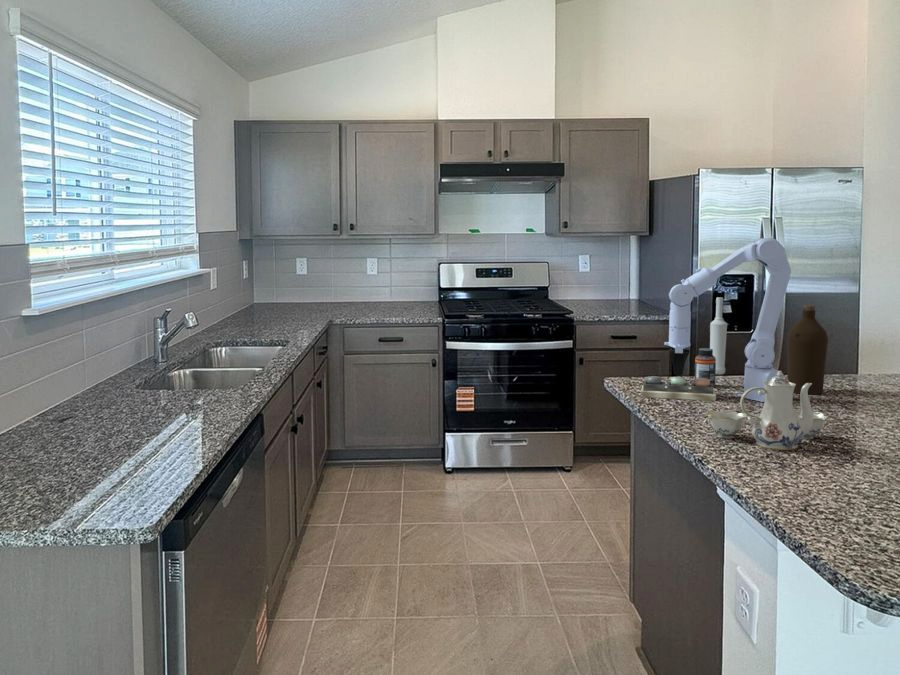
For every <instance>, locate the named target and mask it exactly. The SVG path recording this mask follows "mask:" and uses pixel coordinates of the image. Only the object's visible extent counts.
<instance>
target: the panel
mask: <svg viewBox="0 0 900 675" xmlns="http://www.w3.org/2000/svg"><path fill="white" fill-rule="evenodd" d="M689 383H690V382H685V386H679V385H671V381H667V384H666V381H662V385H657V384H647V380H643V385H642V386H641V389H640V398H651V399H652V398H653V399H673V400H676V399H677V400H689V401H690V400H695V401H712V402H713V401H714V402H716V400H717V396H716V389H715V388H714V387H713V384H710V387H701V386H695V382H691V384H690V385H689Z"/></svg>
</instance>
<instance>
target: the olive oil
mask: <svg viewBox="0 0 900 675" xmlns="http://www.w3.org/2000/svg"><path fill="white" fill-rule="evenodd" d="M801 316H802V317H801V319H800V320H799V321H798V322H797V323H796V324H795V325H793V327H791V329H790V330H789V331H788V335H787V338H786V340H787V341H786V344H787V345H786V346H787V348H786V349H787V352H786V353H787V354H786V355H787V358H786V360H787V366H786V367H787V374H786V376H787V377H786V378H787V379H788V381H789V382H791V383H795V384H796V385H795V388H794V391H793V394H797V395H800V392H801V389H802V387H803V386H804V385H805V384H806V383H812V385H811V386H810V387H809V388H808V396H810V395H811V396H813V395H821V394H824V383H825V382H824V380H825V371H826V370H825V369H826V362H827V354H828V353H827V352H828V345H829V344H828V343H829V336H828V334H827V331H826V330H825V328H824V327H823V326H822V325H821V324H820V323H819V322H818V321H817V320H816V305H815V304H804V305H802V313H801Z"/></svg>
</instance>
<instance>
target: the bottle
mask: <svg viewBox="0 0 900 675" xmlns="http://www.w3.org/2000/svg"><path fill="white" fill-rule="evenodd" d="M715 304H716V305H715V317H714V320H712V321H711V322H710V324H709V333H710V334H709V339H710V340H709V349H713V356H714V357H715V358H716V373H715V375H724V374H726V367H725V366H726V363H725V362H726V350H727V349H726V347H727V329H728V323H727V322H726V321H725V319H724V317H723V305H724V297H721V296H720V297H718V296H717V297H716V299H715Z"/></svg>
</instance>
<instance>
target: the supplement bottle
mask: <svg viewBox="0 0 900 675" xmlns="http://www.w3.org/2000/svg"><path fill="white" fill-rule="evenodd" d="M715 373H716V358H715V357H714V356H713V349H710V347H709V348H708V347H704V348H703V347H702V348H699V349H698V355H696V356H695V358H694V380H695V379H696V378H705V379H710V384H713V388H714V387H715V386H716V374H715Z"/></svg>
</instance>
